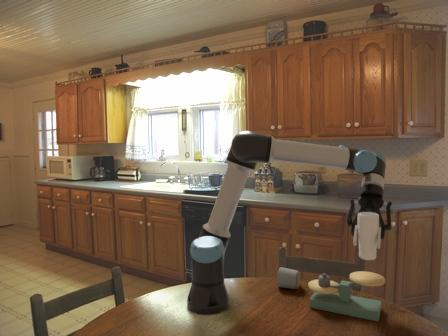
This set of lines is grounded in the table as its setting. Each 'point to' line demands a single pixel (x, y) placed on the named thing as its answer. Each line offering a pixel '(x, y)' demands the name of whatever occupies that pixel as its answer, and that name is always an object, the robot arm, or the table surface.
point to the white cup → (367, 234)
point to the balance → (346, 295)
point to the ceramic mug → (288, 278)
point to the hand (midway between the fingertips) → (366, 245)
